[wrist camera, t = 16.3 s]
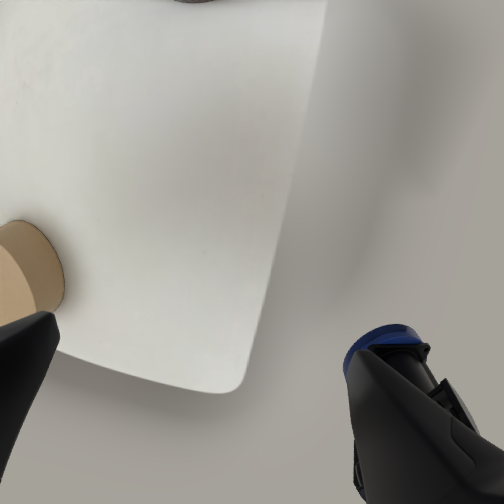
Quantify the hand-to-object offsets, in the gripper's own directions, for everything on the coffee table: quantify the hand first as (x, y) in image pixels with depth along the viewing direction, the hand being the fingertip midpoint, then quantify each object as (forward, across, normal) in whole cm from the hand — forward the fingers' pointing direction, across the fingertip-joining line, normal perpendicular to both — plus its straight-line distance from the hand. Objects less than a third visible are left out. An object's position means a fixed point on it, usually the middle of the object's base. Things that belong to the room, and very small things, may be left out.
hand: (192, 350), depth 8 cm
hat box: (+13, +18, +6) cm, 23 cm away
